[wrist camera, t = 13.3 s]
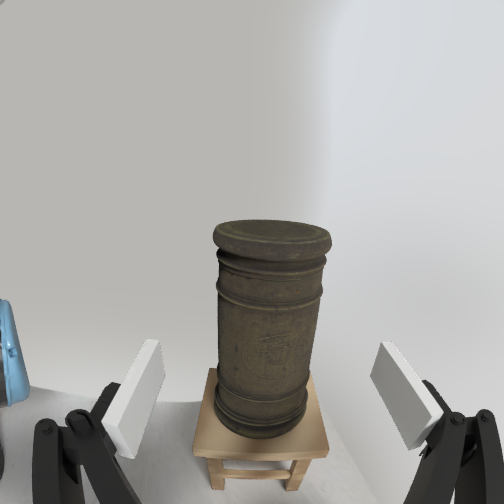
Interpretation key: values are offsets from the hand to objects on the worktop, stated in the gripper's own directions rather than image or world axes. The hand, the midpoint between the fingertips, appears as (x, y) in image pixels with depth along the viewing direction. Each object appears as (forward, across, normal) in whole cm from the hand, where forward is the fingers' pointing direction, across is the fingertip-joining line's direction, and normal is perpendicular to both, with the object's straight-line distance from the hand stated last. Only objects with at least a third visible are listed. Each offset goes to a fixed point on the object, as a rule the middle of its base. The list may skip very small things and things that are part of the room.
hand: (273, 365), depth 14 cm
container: (+7, 0, -12) cm, 13 cm away
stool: (+7, 0, -23) cm, 24 cm away
